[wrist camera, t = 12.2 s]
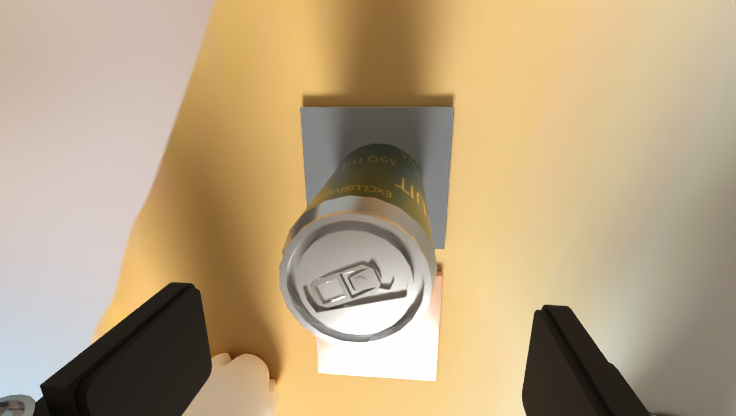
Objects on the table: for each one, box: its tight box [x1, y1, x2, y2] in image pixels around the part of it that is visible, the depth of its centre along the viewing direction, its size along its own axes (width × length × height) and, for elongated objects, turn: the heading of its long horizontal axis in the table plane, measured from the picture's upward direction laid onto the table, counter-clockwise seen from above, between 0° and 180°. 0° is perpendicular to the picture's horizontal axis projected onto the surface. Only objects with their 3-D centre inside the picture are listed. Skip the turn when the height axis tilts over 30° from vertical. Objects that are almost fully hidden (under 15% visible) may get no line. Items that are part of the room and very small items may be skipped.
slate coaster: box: [300, 106, 454, 249], centre depth 23 cm, size 9×9×1 cm
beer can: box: [280, 143, 437, 349], centre depth 17 cm, size 5×5×12 cm
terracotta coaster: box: [316, 271, 443, 381], centre depth 27 cm, size 9×9×1 cm
